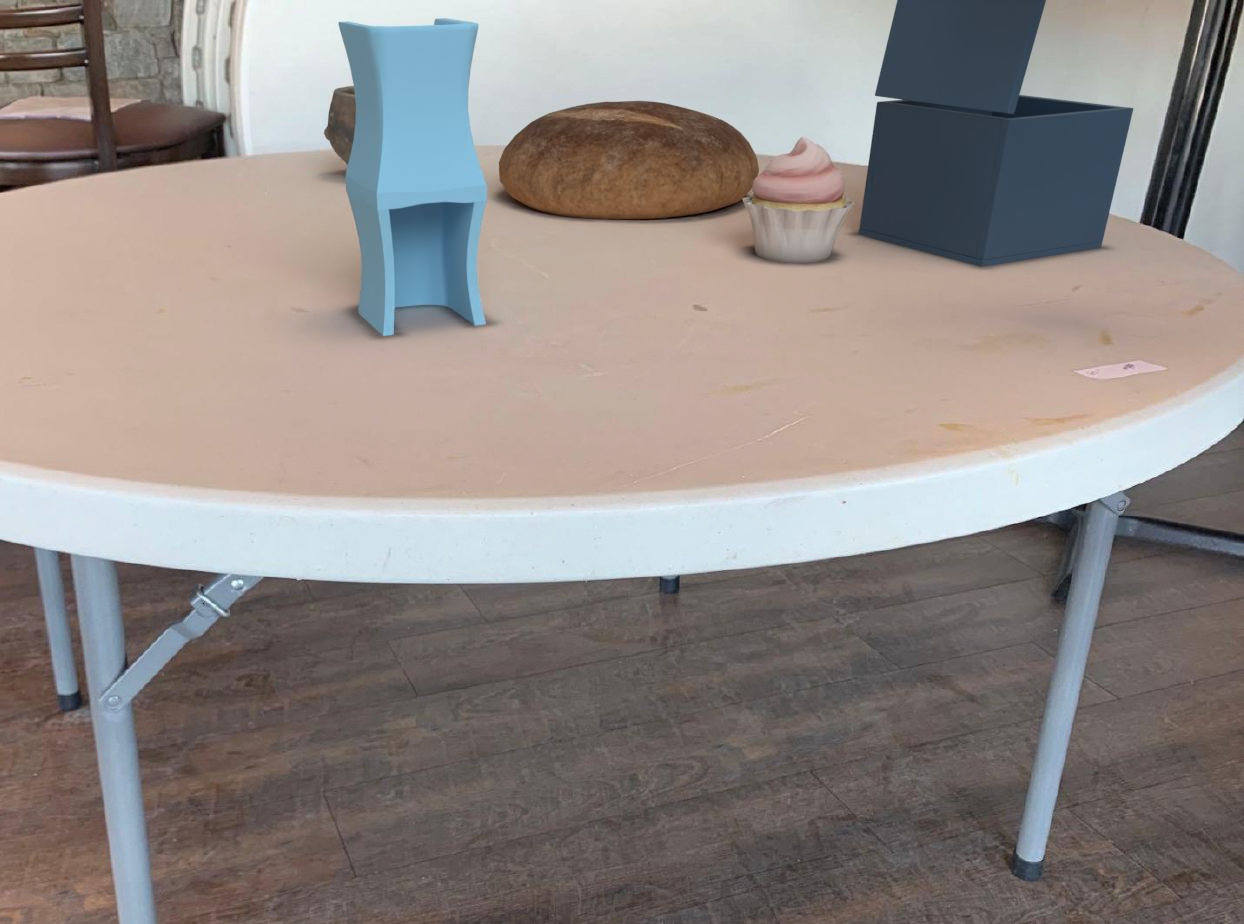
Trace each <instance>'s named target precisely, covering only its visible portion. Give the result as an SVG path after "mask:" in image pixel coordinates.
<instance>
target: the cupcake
mask: <svg viewBox="0 0 1244 924" xmlns="http://www.w3.org/2000/svg"><path fill="white" fill-rule="evenodd" d="M845 186H846V184H845V178H844V176H843V173H842V171H841V170H840V169H839V168H838V167H836V166H835V165H834V164H833V161H832V157H831V156H830V154H829V153H828V151H827V150H826V149H825V148H824V147H823V146H822V145H820V144H818V143H816V142H814V141H812V140H810V139H808V138H807V137H805V136H801V137H800V138H799V139H798V140H797V141H796V143H795V145H794V147H793V148H792V150H791V151H790V152H789V153H781V154H778V155H776V156H774V157H773V158H772V159H771V160H770V161H769V162H768V163H767V165H766V167H765V168H764V169H763V170H762V172H761V173H760V174H758V176H757V177H756V178H755V180H754V181H753V185H752V189H751V190H752V193H751V194H750V196H748V197H744V198H742V200H741V201H742V202H743V205H744V207H745V209H746V212H747V214H748V217H749V219H750V225H751V231H752V235H753V236H752V237H753V245H754V251H755V254H756V256H758V257H760V258H762V259H764V260H768V261H772V262H778V263H779V262H780V263H791V264H797V263H798V264H799V263H800V264H804V263H805V264H807V263H808V264H809V263H817V262H822V261H826V260H827V259H829V258H830V256H831V255H832V252H833V250H834V249H833V248H834V246H835V243H836V240H837V238H838V236H839V234H840V231H841V228H842V226H843V223H844V222H845V220H846V218H847V217H848V215H849V214H850V212H851V210H852V209H853V207H854V205H855V202H854V201H852V200H849V198H848V197H846V196H844V193H845V190H846V187H845Z"/></svg>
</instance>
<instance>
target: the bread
mask: <svg viewBox="0 0 1244 924" xmlns="http://www.w3.org/2000/svg"><path fill="white" fill-rule="evenodd" d="M759 167H760V166H759V162H758V157H757V155H756V152H755V150H754V149H753V147H752V145H751V143H750V142H749V141H748V139H747V138H746V137H745V136H744V134H743V133H742V132H741V131H739V130H738V129H737V128H735V126H733V125H732V124H730V123H728V122H727V121H725V120H722V119H720V118H718V117H716V116H713V115H710V114H708V113H704V112H702V111H698V110H694V109H690V108H686V107H682V106H679V105H675V104H671V103H667V102H666V103H665V102H657V101H647V100H624V101H622V100H621V101H599V102H591V103H584V104H580V105H576V106H570V107H567V108H562V109H559V110H556V111H552V112H549V113H546V114H545V115H542V116H540V117H538V118H536V119H534V120H532V121H531V122H529V123H528V124H527V125H526V126H524V127H523V128H522V129H521V130H520V131H519V132H517V133H516V134H515V135H514V136H513V137H512V139H510V141H509V143H508V144H507V145H506V146H505V147H504V149H503V150H502V153H501V156H500V158H499V161H498V175H499V182H500V184H501V185H502V186H503V188H504V190H505V191H506V192H507V193H508V195H509V196H511V197H512V198H513V199H515V200H516V201H517V202H519V203H521V204H522V205H524V206H525V207H526V206H527V207H528V208H530V209H533V210H535V211H538V212H542V213H546V214H549V215H555V216H560V217H569V218H578V219H592V220H594V219H595V220H648V219H649V220H650V219H651V220H652V219H668V218H679V217H687V216H694V215H700V214H706V213H709V212H713V211H717V210H719V209H722V208H725V207H728V206H731V205H734V204H736V203H738V202H739V201H743V200H742V198H746V196H747V195H748V194H749V192H750V191H751V190H752V185H753V181H754V180H755V178H756V177H757V176H758V175H759V173H760V168H759Z"/></svg>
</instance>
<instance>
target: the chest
mask: <svg viewBox="0 0 1244 924" xmlns="http://www.w3.org/2000/svg"><path fill="white" fill-rule="evenodd" d="M1133 113H1134V107H1128V106H1127V107H1126V106H1118V105H1110V104H1103V103H1102V104H1101V103H1093V102H1084V101H1075V100H1068V99H1058V98H1051V97H1041V96H1034V95H1033V96H1032V95H1024V94H1019V98H1018V101H1017V105H1016V108H1015V112H1014V114H1007V113H999V112H992V111H984V110H977V109H969V108H962V107H954V106H947V105H939V104H932V103H924V102H917V101H909V100H902V99H894V100H883V101H882V100H881V101H877V102H876V106H875V113H874V121H873V128H872V135H871V143H870V150H869V156H868V162H867V163H868V165H867V169H866V178H865V185H864V193H863V198H862V199H863V200H862V206H861V214H860V220H859V229H858V236H862V237H866V238H869V239H873V240H877V241H881V242H884V243H889V244H892V245H895V246H900V247H904V248H907V249H912V250H915V251H919V252H923V253H926V254H930V255H934V256H938V257H942V258H945V259H950V260H954V261H957V262H961V263H965V264H969V265H973V266H976V267H980V268H985V267H986V268H987V267H991V266H998V265H1003V264H1009V263H1010V264H1011V263H1015V262H1016V263H1017V262H1023V261H1029V260H1034V259H1035V260H1036V259H1040V258H1046V257H1047V258H1048V257H1053V256H1059V255H1065V254H1066V255H1067V254H1071V253H1077V252H1085V251H1090V250H1096V249H1097V250H1098V249H1102V245H1103V241H1104V237H1105V233H1106V229H1107V224H1108V219H1109V215H1110V211H1111V207H1112V204H1113V203H1112V202H1113V198H1114V194H1115V190H1116V186H1117V180H1118V177H1119V173H1120V168H1121V164H1122V159H1123V155H1124V152H1125V148H1126V144H1127V143H1126V142H1127V138H1128V134H1129V130H1130V125H1131V122H1132V116H1133Z"/></svg>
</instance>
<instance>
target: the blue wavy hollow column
mask: <svg viewBox="0 0 1244 924" xmlns="http://www.w3.org/2000/svg"><path fill="white" fill-rule="evenodd" d="M337 25H338V28H339V32H340V35H341V39H342V42H343V45H344V50H345V53H346V56H347V61H348V64H349V70H350V74H351V78H352V79H351V80H352V84H353V86H354V92H355V101H356V124H355V132H354V140H353V145H352V150H351V155H350V159H349V163H348V165H347V168H346V172H345V175H344V177H345V191H346V195H347V197H348V201H349V205H350V208H351V212H352V216H353V221H354V223H355V228H356V232H357V237H358V244H359V251H360V260H361V261H360V263H361V276H360V278H361V279H360V290H359V291H360V292H359V300H358V309H357V313H358V314H359V316H361V317H362V318H363V319H364V320H365V321H366V322H367V323H368V324H369V325H370V326H372V327H373V329H375V330H376V331H377V333H379V334H380V335H381V336H383V337H386V336H394V335H395V334H394V333H395V309H396V308H404V307H405V308H406V307H414V306H429V305H430V306H442V307H443V306H444V307H448V308H450V309H452V310H453V311H454V312H455V313H457V314H458V315H460V316H461V317H462V318H463V319H465V320H467V321H468V322H469V323H471V324H472V325H473V326H482V325H487V322H486V317H485V313H484V309H483V305H482V300H481V294H480V288H479V281H478V278H479V277H478V248H479V242H480V235H481V228H482V224H483V219H484V214H485V210H486V206H487V205H486V204H487V202H488V185H487V181H486V178H485V176H484V173H483V169H482V168H481V167H482V166H481V164H480V161H479V158H478V155H477V151H476V147H475V142H474V137H473V135H472V130H471V121H470V114H469V87H470V79H471V78H470V77H471V69H472V64H473V57H474V51H475V47H476V41H477V37H478V32H479V23H478V22H473V21H467V20H461V19H460V20H459V19H453V18H446V17H445V18H444V17H443V18H434V22H433V24H428V25H426V24H425V25H424V24H423V25H396V26H395V25H391V26H390V25H385V26H384V25H368V24H362V23H358V22H353V21H348V20H347V21H338V23H337Z"/></svg>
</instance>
